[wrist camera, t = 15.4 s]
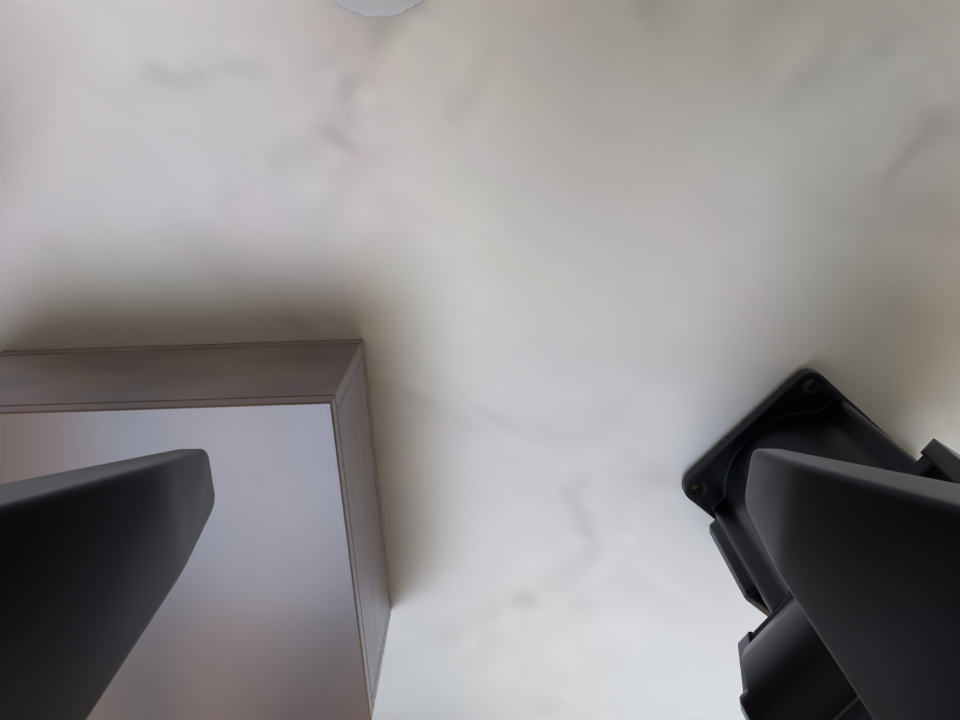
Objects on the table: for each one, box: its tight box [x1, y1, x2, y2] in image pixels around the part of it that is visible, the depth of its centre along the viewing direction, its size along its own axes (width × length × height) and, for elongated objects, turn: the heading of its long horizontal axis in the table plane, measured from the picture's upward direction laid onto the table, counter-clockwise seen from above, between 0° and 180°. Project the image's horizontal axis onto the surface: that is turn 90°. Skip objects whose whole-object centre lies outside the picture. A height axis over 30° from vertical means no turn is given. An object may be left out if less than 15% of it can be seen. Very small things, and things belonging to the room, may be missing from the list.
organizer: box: [0, 339, 391, 720], centre depth 24 cm, size 13×12×6 cm
